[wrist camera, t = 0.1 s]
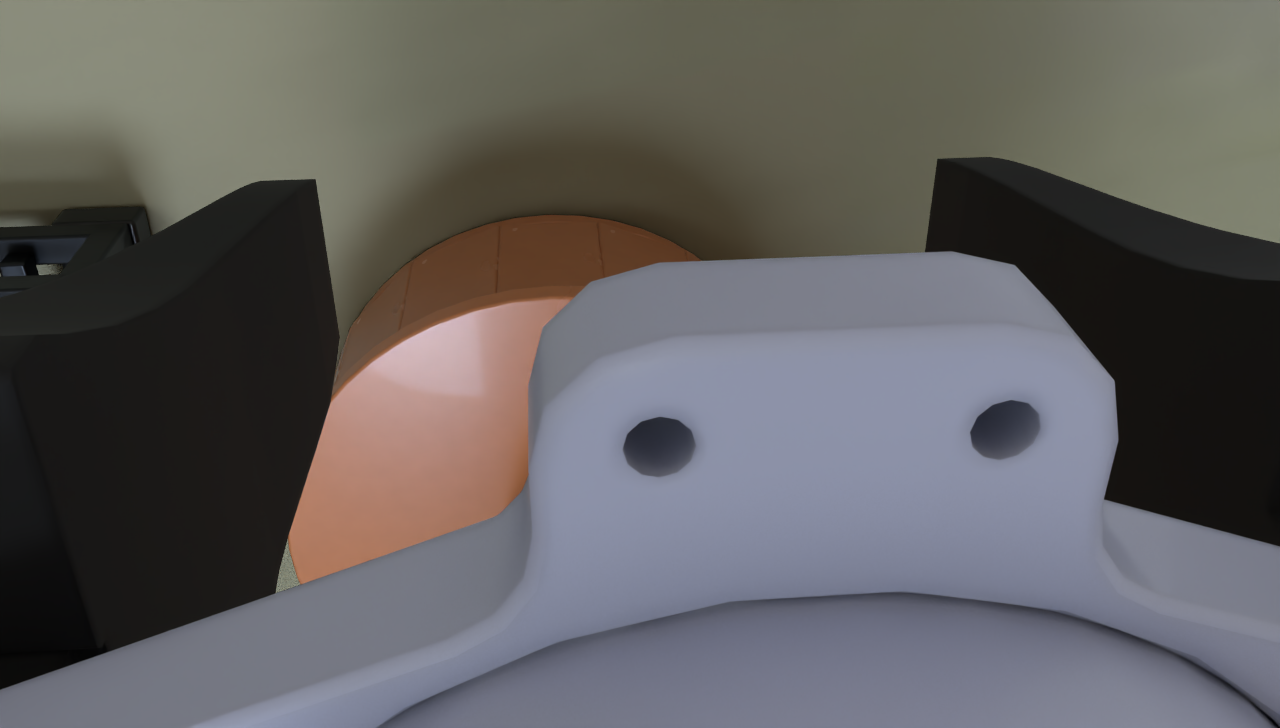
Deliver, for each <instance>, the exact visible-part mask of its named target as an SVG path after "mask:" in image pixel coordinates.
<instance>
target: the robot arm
mask: <svg viewBox="0 0 1280 728" xmlns="http://www.w3.org/2000/svg"><path fill="white" fill-rule="evenodd" d="M339 338H340V337H339V330H338V324H337V317H336V311H335V304H334V298H333V291H332V284H331V278H330V271H329V265H328V258H327V252H326V245H325V239H324V232H323V226H322V219H321V212H320V206H319V199H318V193H317V186H316V180H315V179H307V180H276V181H259V182H255V183H251V184H249V185H246V186H244V187H242V188H240V189H238V190H236V191H234V192H232V193H230V194H228V195H226V196H224V197H222V198H220V199H218V200H217V201H215V202H213V203H211V204H209V205H208V206H206V207H204V208H202V209H200V210H199V211H197V212H195V213H193V214H191V215H190V216H188V217H186V218H184V219H182V220H181V221H179V222H177V223H175V224H173V225H172V226H170V227H168V228H166V229H164V230H162V231H160V232H158V233H156V234H154V235H152V236H150V237H148V238H146V239H144V240H142V241H140V242H138V243H136V244H134V245H132V246H130V247H128V248H126V249H124V250H122V251H120V252H118V253H116V254H114V255H112V256H110V257H108V258H106V259H104V260H102V261H99V262H97V263H95V264H93V265H90V266H88V267H86V268H83V269H81V270H78V271H76V272H73V273H71V274H68V275H66V276H63V277H60V278H58V279H55V280H52V281H49V282H47V283H44V284H41V285H38V286H36V287H33V288H30V289H27V290H24V291H21V292H18V293H15V294H11V295H7V296H4V297H0V728H1280V244H1279V243H1275V242H1270V241H1266V240H1261V239H1257V238H1253V237H1248V236H1244V235H1240V234H1235V233H1231V232H1227V231H1222V230H1219V229H1215V228H1211V227H1207V226H1204V225H1200V224H1197V223H1193V222H1190V221H1187V220H1183V219H1180V218H1177V217H1174V216H1171V215H1167V214H1164V213H1161V212H1158V211H1155V210H1151V209H1148V208H1145V207H1143V206H1140V205H1137V204H1134V203H1131V202H1128V201H1125V200H1122V199H1119V198H1117V197H1114V196H1111V195H1108V194H1106V193H1103V192H1100V191H1097V190H1095V189H1092V188H1089V187H1086V186H1084V185H1081V184H1078V183H1076V182H1073V181H1070V180H1067V179H1065V178H1062V177H1059V176H1056V175H1054V174H1051V173H1048V172H1045V171H1042V170H1039V169H1037V168H1034V167H1030V166H1027V165H1024V164H1021V163H1017V162H1013V161H1010V160H1005V159H1000V158H992V157H977V158H947V159H937V167H936V174H935V182H934V189H933V197H932V204H931V211H930V219H929V226H928V234H927V241H926V249H925V252H923V253H897V254H871V255H845V256H819V257H793V258H767V259H741V260H715V261H689V262H663V263H656V264H652V265H649V266H645V267H641V268H638V269H634V270H631V271H627V272H624V273H620V274H617V275H613V276H609V277H606V278H602V279H599V280H595V281H592V282H590V283H589V284H588V285H587V286H586V287H585V288H584V289H583V290H582V291H580V292H579V293H578V294H577V295H576V296H575V297H574V298H573V299H572V300H571V301H570V302H569V303H568V304H567V305H566V306H565V307H564V308H563V309H562V310H561V311H560V312H559V313H557V314H556V315H555V316H554V317H553V318H552V319H551V320H550V321H549V322H548V323H547V324H546V325H545V326H544V327H543V329H542V333H541V336H540V340H539V344H538V348H537V352H536V356H535V360H534V364H533V368H532V372H531V376H530V380H529V384H528V473H529V475H528V478H527V480H526V482H525V485H524V487H523V490H522V491H521V493H520V494H519V495H518V496H517V497H516V498H515V499H514V500H513V501H512V502H511V503H510V504H509V505H508V506H507V507H506V508H505V509H504V510H503V511H502V512H501V513H500V514H498V515H497V516H495V517H492V518H489V519H487V520H484V521H481V522H478V523H475V524H472V525H469V526H467V527H464V528H461V529H458V530H455V531H452V532H449V533H447V534H444V535H441V536H438V537H435V538H432V539H429V540H427V541H424V542H421V543H418V544H415V545H412V546H409V547H407V548H404V549H401V550H398V551H395V552H392V553H389V554H387V555H384V556H381V557H378V558H375V559H372V560H369V561H367V562H364V563H361V564H358V565H355V566H352V567H350V568H347V569H344V570H341V571H338V572H335V573H332V574H330V575H327V576H324V577H321V578H318V579H315V580H312V581H310V582H307V583H304V584H301V585H298V586H295V587H292V588H290V589H287V590H284V591H281V592H278V593H275V591H276V586H277V580H278V574H279V569H280V566H281V562H282V558H283V554H284V550H285V546H286V542H287V539H288V536H289V532H290V529H291V526H292V523H293V520H294V517H295V514H296V511H297V508H298V504H299V501H300V498H301V495H302V492H303V489H304V486H305V483H306V480H307V476H308V473H309V470H310V467H311V464H312V461H313V458H314V455H315V452H316V448H317V445H318V442H319V439H320V435H321V432H322V429H323V426H324V423H325V419H326V416H327V413H328V409H329V406H330V402H331V397H332V390H333V383H334V377H335V370H336V362H337V354H338V346H339Z"/></svg>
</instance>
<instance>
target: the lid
mask: <svg viewBox="0 0 1280 728" xmlns="http://www.w3.org/2000/svg"><path fill="white" fill-rule="evenodd" d="M585 287H586V286H541V287H531V288H520V289H511V290H507V291H502V292H497V293H493V294H488V295H484V296H479V297H475V298H472V299H469V300H466V301H463V302H460V303H457V304H454V305H451V306H449V307H446V308H443V309H440V310H437V311H435V312H433V313H431V314H429V315H427V316H425V317H423V318H421V319H419V320H417V321H415V322H413V323H411V324H409V325H407V326H405V327H403V328H402V329H400V330H399V331H397V332H396V333H394V334H393V335H391V336H390V337H388V338H387V339H385V340H384V341H382V342H381V343H379V344H378V345H376V346H375V347H373V348H372V349H371V350H370V351H369V352H368V353H367V354H365V355H364V356H363V357H362V358H361V359H360V360H359V361H358V362H356V363H355V364H354V365H353V366H352V367H351V368H350V369H348V370H347V372H346V373H345V374H344V375H343V376H342V377H341V379H340V380H339V381H338V382H337V383H336V385H335V386H334V387H333V390H332V397H331V402H330V406H329V409H328V413H327V416H326V419H325V423H324V426H323V429H322V432H321V435H320V439H319V442H318V445H317V448H316V452H315V455H314V458H313V461H312V464H311V467H310V470H309V473H308V476H307V480H306V483H305V486H304V489H303V492H302V495H301V498H300V501H299V504H298V508H297V511H296V514H295V517H294V520H293V523H292V526H291V529H290V532H289V536H288V544H289V550H290V554H291V557H292V561H293V564H294V568H295V571H296V575H297V578H298V580H299V582H300V584H304V583H307V582H310V581H312V580H315V579H318V578H321V577H324V576H327V575H330V574H332V573H335V572H338V571H341V570H344V569H347V568H350V567H352V566H355V565H358V564H361V563H364V562H367V561H369V560H372V559H375V558H378V557H381V556H384V555H387V554H389V553H392V552H395V551H398V550H401V549H404V548H407V547H409V546H412V545H415V544H418V543H421V542H424V541H427V540H429V539H432V538H435V537H438V536H441V535H444V534H447V533H449V532H452V531H455V530H458V529H461V528H464V527H467V526H469V525H472V524H475V523H478V522H481V521H484V520H487V519H489V518H492V517H495V516H497V515H498V514H500V513H501V512H502V511H503V510H504V509H505V508H506V507H507V506H508V505H509V504H510V503H511V502H512V501H513V500H514V499H515V498H516V497H517V496H518V495H519V494H520V493H521V491H522V490H523V487H524V485H525V482H526V480H527V478H528V475H529V473H528V384H529V380H530V376H531V372H532V368H533V364H534V360H535V356H536V352H537V348H538V344H539V340H540V336H541V333H542V329H543V327H544V326H545V325H546V324H547V323H548V322H549V321H550V320H551V319H552V318H553V317H554V316H555V315H556V314H557V313H559V312H560V311H561V310H562V309H563V308H564V307H565V306H566V305H567V304H568V303H569V302H570V301H571V300H572V299H573V298H574V297H575V296H576V295H577V294H578V293H579V292H580V291H582V290H583V289H584V288H585Z"/></svg>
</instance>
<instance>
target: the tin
mask: <svg viewBox="0 0 1280 728" xmlns="http://www.w3.org/2000/svg"><path fill="white" fill-rule="evenodd" d="M689 261H701V260H700V259H699V258H698V257H696V256H695V255H694V254H692V253H690V252H688V251H687V250H685V249H683V248H682V247H680V246H678V245H676V244H675V243H673V242H671V241H669V240H667V239H665V238H663V237H660V236H658V235H655V234H653V233H651V232H648V231H646V230H643V229H641V228H637V227H634V226H630V225H627V224H623V223H619V222H616V221H612V220H606V219H600V218H593V217H586V216H576V215H541V216H531V217H520V218H514V219H509V220H505V221H500V222H496V223H491V224H486V225H483V226H481V227H478V228H475V229H472V230H469V231H466V232H464V233H461V234H458V235H455V236H453V237H451V238H450V239H448V240H446V241H444V242H442V243H440V244H438V245H436V246H434V247H432V248H430V249H428V250H427V251H425V252H424V253H422V254H421V255H419V256H418V257H416V258H415V259H413V260H412V261H410V262H409V263H407V264H406V265H405V266H403V267H402V268H401V269H400V270H399V271H398V272H397V273H396V274H394V275H393V276H392V277H391V278H390V279H389V280H388V281H387V282H386V283H385V284H383V285H382V287H381V288H380V289H379V290H378V291H377V293H376V294H375V295H374V296H373V297H372V299H371V300H370V301H369V302H368V303H367V305H366V306H365V307H364V309H363V310H362V312H361V314H360V315H359V317H358V318H357V319H356V320H355V321H354V323H353V324H352V327H351V328H350V329H349V332H348V335H347V338H346V341H345V344H344V347H343V350H342V352H341V355H340V358H339V362H338V366H337V369H336V372H335V377H334V383H333V387H334V386H335V385H336V383H337V382H338V381H339V380H340V379H341V377H342V376H343V375H344V374H345V373H346V372H347V370H348V369H350V368H351V367H352V366H353V365H354V364H355V363H356V362H358V361H359V360H360V359H361V358H362V357H363V356H364V355H365V354H367V353H368V352H369V351H370V350H371V349H372V348H373V347H375V346H376V345H378V344H379V343H381V342H382V341H384V340H385V339H387V338H388V337H390V336H391V335H393V334H394V333H396V332H397V331H399V330H400V329H402V328H403V327H405V326H407V325H409V324H411V323H413V322H415V321H417V320H419V319H421V318H423V317H425V316H427V315H429V314H431V313H433V312H435V311H437V310H440V309H443V308H446V307H449V306H451V305H454V304H457V303H460V302H463V301H466V300H469V299H472V298H475V297H479V296H484V295H488V294H493V293H497V292H502V291H507V290H511V289H520V288H531V287H541V286H587V285H588V284H589V283H590V282H592V281H595V280H599V279H602V278H606V277H609V276H613V275H617V274H620V273H624V272H627V271H631V270H634V269H638V268H641V267H645V266H649V265H652V264H656V263H663V262H689Z"/></svg>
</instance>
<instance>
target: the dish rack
mask: <svg viewBox="0 0 1280 728" xmlns="http://www.w3.org/2000/svg"><path fill="white" fill-rule="evenodd" d="M150 236H151V234H150V230H149V226H148V221H147V217H146V213H145V210H144V208H143V207H121V208H92V209H66V210H63V211H62V212H61V214H60V215H59V216H58V217H57V218H56V219H55V221H54V222H53V223H52V226H26V227H0V273H1V277H0V297H4V296H7V295H11V294H15V293H18V292H21V291H24V290H27V289H30V288H33V287H36V286H38V285H41V284H44V283H47V282H49V281H52V280H55V279H58V278H60V277H63V276H66V275H68V274H71V273H73V272H76V271H78V270H81V269H83V268H86V267H88V266H90V265H93V264H95V263H97V262H99V261H102V260H104V259H106V258H108V257H110V256H112V255H114V254H116V253H118V252H120V251H122V250H124V249H126V248H128V247H130V246H132V245H134V244H136V243H138V242H140V241H142V240H144V239H146V238H148V237H150ZM43 264H62V266H63V270H62V272H61V273H60V274H58V275H39V274H38V270H37V267H36V265H43Z"/></svg>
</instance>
